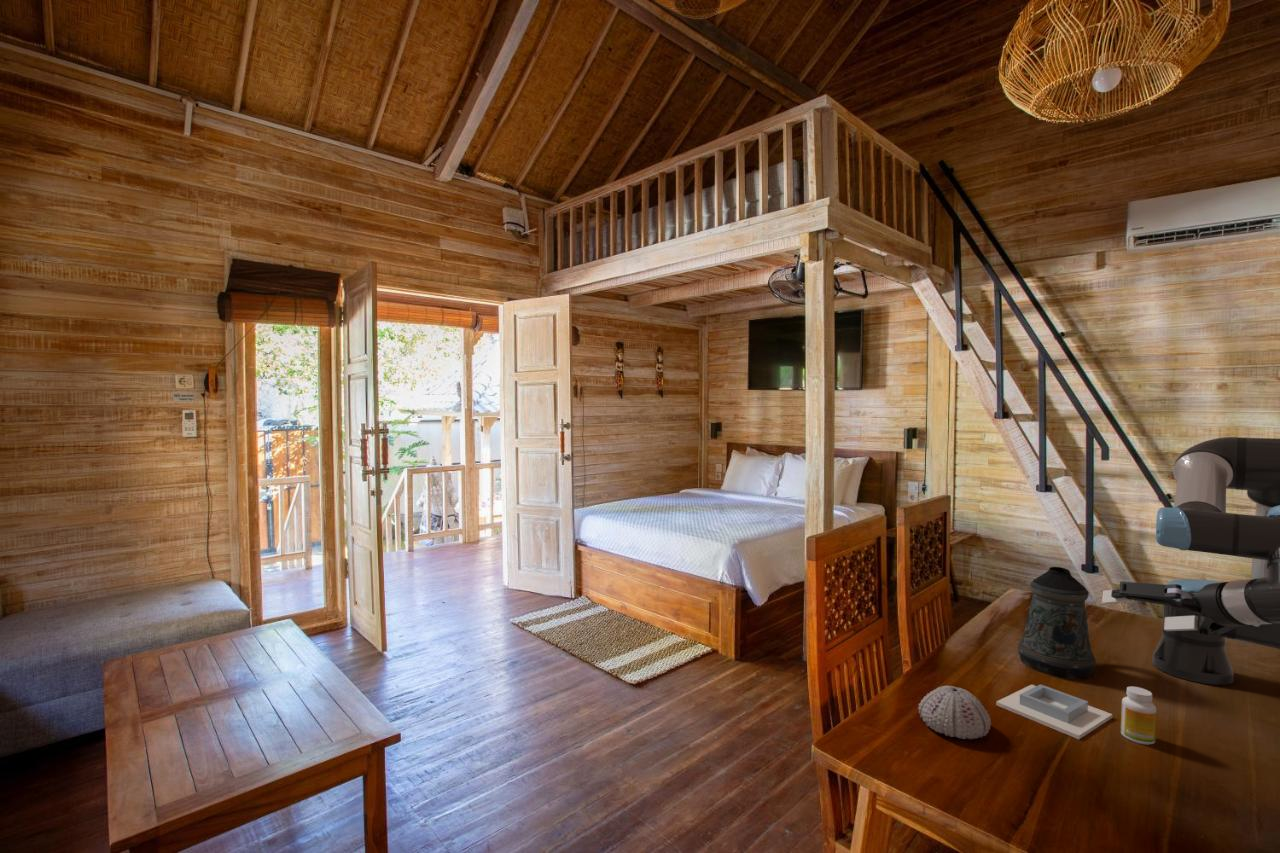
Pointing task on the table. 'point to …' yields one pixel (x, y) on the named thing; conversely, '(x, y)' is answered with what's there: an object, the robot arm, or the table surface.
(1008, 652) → the table surface
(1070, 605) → the beer stein
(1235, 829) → the table surface
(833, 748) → the table surface
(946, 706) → the sea urchin shell
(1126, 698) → the supplement bottle
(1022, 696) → the socket
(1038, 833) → the table surface
